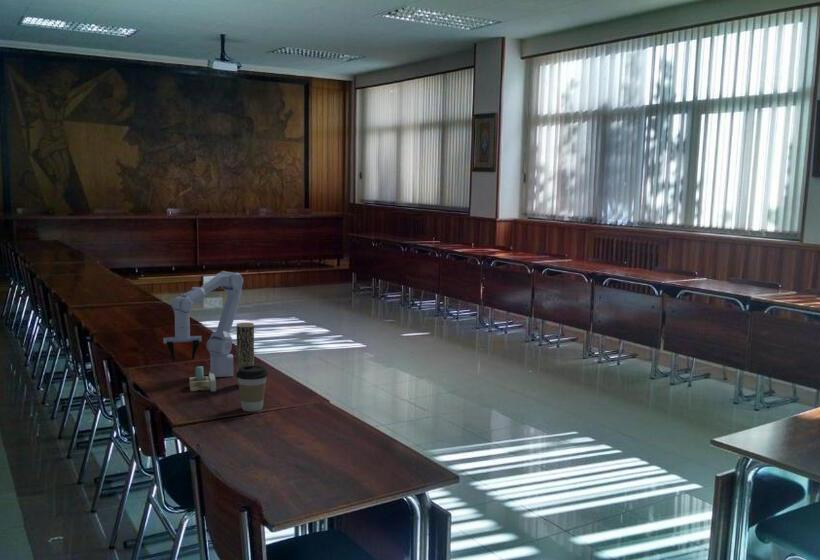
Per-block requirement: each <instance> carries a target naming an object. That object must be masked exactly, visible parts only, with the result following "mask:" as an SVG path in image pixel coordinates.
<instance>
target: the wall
mask: <svg viewBox="0 0 820 560" xmlns="http://www.w3.org/2000/svg"><path fill="white" fill-rule="evenodd" d="M208 376H209V378H210V390H209V391H210V392H217V380H216V377H215V376H214V373H212V374H209V373H208Z"/></svg>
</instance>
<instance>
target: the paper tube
mask: <svg viewBox="0 0 820 560" xmlns="http://www.w3.org/2000/svg"><path fill="white" fill-rule="evenodd" d="M235 326H236V327H235V328H236V373H237V372H238V371H239V368H241V367H243V366H250V365H255V323H253V322H238V323H236V325H235ZM236 382H237V383H236V384H237V386H238V387H239V383H238V378H237V377H236Z"/></svg>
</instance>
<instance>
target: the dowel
mask: <svg viewBox="0 0 820 560" xmlns="http://www.w3.org/2000/svg"><path fill="white" fill-rule="evenodd" d="M204 372H205V371H204V366H201V365H200V366H199V365H198V366H195V377H196V381H204V377H205V376H204V375H205V374H204Z"/></svg>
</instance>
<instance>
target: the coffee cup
mask: <svg viewBox="0 0 820 560" xmlns="http://www.w3.org/2000/svg"><path fill="white" fill-rule="evenodd" d="M235 376H236V379H237V378H238V383H239V386H238V390H239V396H240V404H241V408H242V410H243V411H244V412H249V413H250V412H251V413H252V412H259V411H261V410H262V409H263V407H264V401H265V400H264V399H265V392H266V384H267V377H268V376H269V373H268V370H266V367H264V366H262V365H255V364H254V365H250V366H243V367H241V368H239V371H238V372H237V371H236V375H235Z"/></svg>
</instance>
